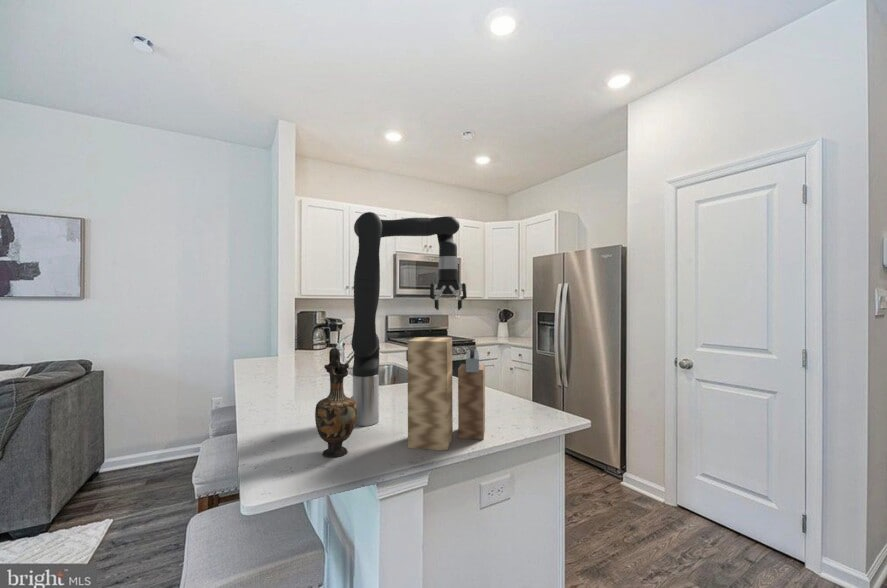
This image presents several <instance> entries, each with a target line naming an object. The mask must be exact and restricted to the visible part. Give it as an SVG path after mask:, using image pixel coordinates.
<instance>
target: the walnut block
mask: <svg viewBox="0 0 887 588" xmlns="http://www.w3.org/2000/svg"><path fill="white" fill-rule="evenodd" d="M485 379H486V365H485V364H483V363H479V372H466V363H461V364H460V366H459V367H458V369H457V395H458V396H457V404H458V405H457V406H458V407H457V408H458V409H457V410H458V411H457V414H458V416H457V417H458V418H457V421H458V427H457V429H458V430H457V431H458V432H457V433H458V439H462V440H463V439H464V440H465V439H466V440H480V441H482V440H484V438H485V433H486V380H485Z"/></svg>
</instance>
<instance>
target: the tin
mask: <svg viewBox="0 0 887 588" xmlns="http://www.w3.org/2000/svg"><path fill="white" fill-rule="evenodd" d="M465 355H466V356H465V364H466V372H479V364H480V357H479V350H478V349H467V350H466V354H465Z"/></svg>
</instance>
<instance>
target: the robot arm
mask: <svg viewBox="0 0 887 588" xmlns="http://www.w3.org/2000/svg"><path fill="white" fill-rule="evenodd" d="M459 230H460V222H459V220H458V219H457V218H456V217H453V216H449V215H448V216H447V215H446V216H437V217H406V218H400V219H399V218H398V219H381V218H380V216H379V215H378V214H377V213H375V212H371V211H367V212H364V213H362V214H360V215H359V216H358V217H357V218H356V220H355V221H354V224H353V231H354V234H355V235H356V236H357V238H358V253H357V258H356V262H355V268H354V274H353V308H354V309H353V310H354V312H353V313H354V321H353V322H354V323H353V329H352V330H353V331H352V338H351V349H352V351H353V365H352V396H351V397H350V398H351V399H353V400H355V402H356V404H357V415H356V421H355V425H354V426H360V427H365V426H366V427H367V426H368V427H369V426H372V425H376V424H378V423H379V421H380V415H379V414H380V411H379V410H380V409H379V408H380V407H379V406H380V402H379V401H380V399H379V397H380V394H379V391H380V390H379V385H380V384H379V382H380V381H379V380H380V379H379V378H380V375H379V374H380V373H379V371H380V370H379V369H380V367H379V366H380V340H379V339H380V338H379V336H378V335H377V330H376V327H377V326H376V319H377V318H376V315H377V311H378V305H379V300H380V299H379V298H380V293H381V292H380V291H381V290H380V287H381V286H380V285H381V268H380V267H381V266H380V265H381V264H380V263H381V262H380V248H381V239H382V238H390V237H430V236H435V235H437V242H438V247H439V248H438V249H439V250H438V282H437V283H430V289H429V299H432V300H434V309H435V310H436V311H439V310H440V304H439V303H440V301H439V299H440V298H441V297H442V296H443V295H454V296H455V297H456V298H457V299H458V300H457V311H460V310H461V309H463V300H465V299H467V284H466V283H465V282H462V283H459V278H458V277H459V276H458V275H459V273H458V271H459V270H458V269H459V265H458V247H457V246H458V245H457V243H456V242H454V235H455V234H456V233H458V232H459ZM459 287H460V289H461V290H462V295H461V294H460V293H459V292H458V291H457V290H458V289H459ZM437 288H438V290H439V291H438V292H437V293H436V295H435V290H436V289H437Z"/></svg>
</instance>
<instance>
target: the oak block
mask: <svg viewBox="0 0 887 588" xmlns="http://www.w3.org/2000/svg"><path fill="white" fill-rule="evenodd" d="M453 422H454V421H453V337H437V336H436V337H428V336H426V337H425V336H424V337H423V336H422V337H419V336H417V337H413V338H411V339H409V340H407V448H408V449H418V450H419V449H420V450H437V451H448V450H449V447H450V445H451V442H452V440H453V434H454V433H453Z"/></svg>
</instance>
